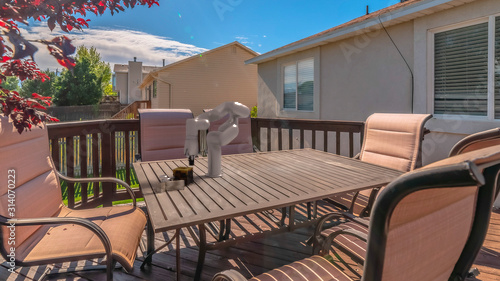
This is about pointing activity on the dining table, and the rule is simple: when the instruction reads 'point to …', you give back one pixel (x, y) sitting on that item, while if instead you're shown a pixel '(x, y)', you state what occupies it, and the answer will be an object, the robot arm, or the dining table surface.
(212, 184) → the dining table surface
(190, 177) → the candle
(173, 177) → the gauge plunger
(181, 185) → the centring jig
